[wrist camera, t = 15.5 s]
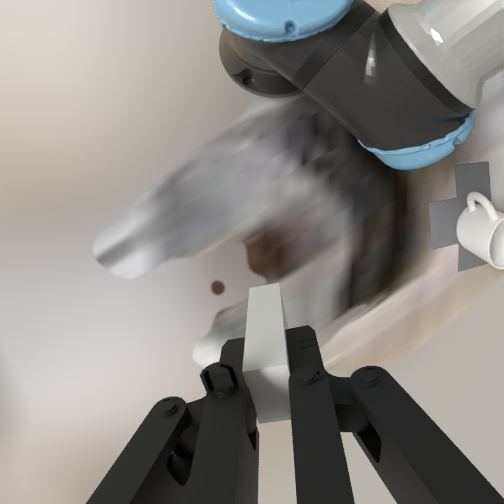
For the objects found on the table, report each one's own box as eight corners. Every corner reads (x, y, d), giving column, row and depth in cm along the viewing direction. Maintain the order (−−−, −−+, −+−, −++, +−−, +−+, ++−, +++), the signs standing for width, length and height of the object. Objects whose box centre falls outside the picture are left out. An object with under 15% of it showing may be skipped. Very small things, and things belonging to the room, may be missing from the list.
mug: (441, 198, 46) (475, 212, 36) (474, 175, 44) (511, 185, 34) (462, 257, 49) (494, 279, 39) (493, 233, 47) (527, 251, 37)
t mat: (424, 169, 45) (425, 169, 45) (486, 161, 44) (488, 161, 43) (430, 277, 51) (431, 279, 50) (488, 261, 49) (489, 262, 49)
